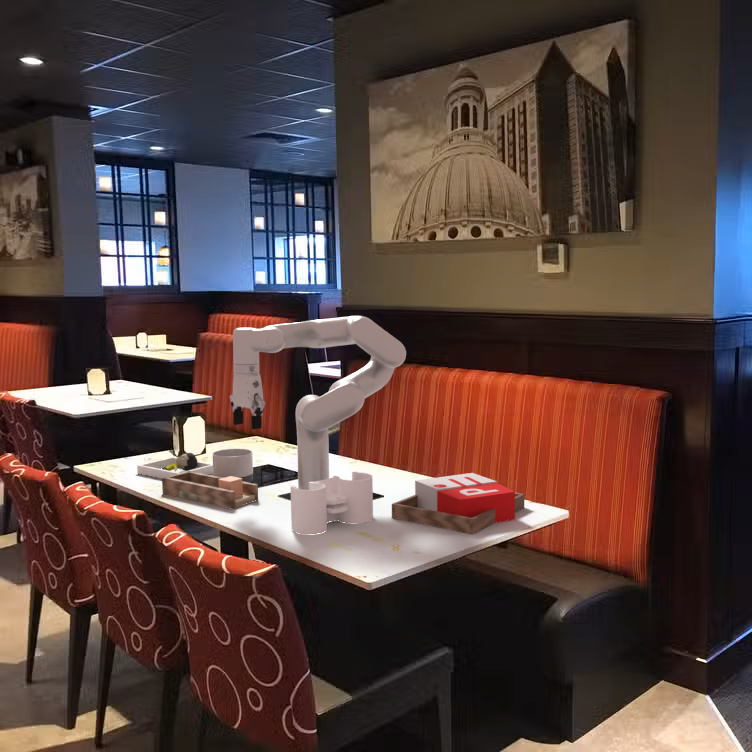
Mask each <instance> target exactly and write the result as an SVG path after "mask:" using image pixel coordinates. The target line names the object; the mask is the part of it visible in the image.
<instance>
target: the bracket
mask: <svg viewBox="0 0 752 752" xmlns="http://www.w3.org/2000/svg"><path fill="white" fill-rule="evenodd" d="M373 495H374V494H373V475H372V474H371V473H365V472H358V471H352V472H351V480H349V479H343V478H340V476H338V475H333V476H332V477H329V479H324V480H320V481H315V482H309V490H302V489H298V487H297V486H296V485H290V509H291V510H290V511H291V513H290V517H291V519H290V520H291V521H290V522H291V530H292V529H293V530H294V531H295V532H297V533H300V534H317V533H322V532H324V531H326V530H327V531H328V523H327V522H329V521H334V520H339V521H341V522H345V523H344V524H346V523H361V524H365V523H364V522H366V523H369V522H371V521H373V520H372V519H374V497H373ZM339 521H338V522H339ZM368 521H369V522H368ZM334 522H335V521H334ZM341 522H340V523H341ZM294 531H293V532H294ZM327 531H326V532H327ZM295 532H294V533H295ZM297 533H296V534H297ZM300 534H299V535H300ZM322 534H323V533H322Z"/></svg>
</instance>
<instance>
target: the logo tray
mask: <svg viewBox="0 0 752 752" xmlns="http://www.w3.org/2000/svg"><path fill="white" fill-rule="evenodd" d="M524 508H525V494H524V493H522V492H521V493H520V492H515V513H517V512H519V511H520V510H522V509H524ZM391 519H396V520H401V521H407V522H410V523H414V524H415V523H416V524H421V525H426V526H430V527H436V528H441V529H444V530H445V529H446V530H450V531H455V532H459V533H460V532H461V533H465V534H469V535H474V534H477V533H478V532H480V531H482V530H484V529H486V528H488V527H490V526H492V525H494V524H496V523H495V509H489V510H487V511H485V512H483V513H481V514H479V515H477V516H474V517H472V518H470V517H464V516H459V515H454V514H449V513H443V512H438V511H433V510H427V509H422V508H417V495H416V494H414V495H411V496H409V497H406V498H402V499H401V500H399V501H396V502H393V503H392V504H391Z"/></svg>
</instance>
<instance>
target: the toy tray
mask: <svg viewBox="0 0 752 752" xmlns="http://www.w3.org/2000/svg"><path fill="white" fill-rule="evenodd" d="M177 458H178V456H171V457H168V458H163V459H158V460H155V461H150V462H145V463H141V464H137V466H136V469H137V473H138V475H141V474H143V475H142V476H145V475H148V476H147V477H150V476H153V477H152V478H155V477H157V478H156V479H160V478H161V480H162V478H163V477H167V476H171V475H175V474H179V473H183V472H187V471H181V472H178V471H176V472H175V471H174V470H173V471H172V470H171V471H168V470H163V469H161V468H164V467H166V466H168V465H171V464H176V459H177ZM165 465H166V466H165ZM189 471H192V472H197V473H202V474H207V475H209V474H210V475H213V463H210V462H205V461H204V462H203V461H198V460H197V467H196V468H195V469H193V470H189Z"/></svg>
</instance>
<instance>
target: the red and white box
mask: <svg viewBox="0 0 752 752" xmlns="http://www.w3.org/2000/svg"><path fill="white" fill-rule="evenodd" d="M414 493H415V494H416V495H417V508H422V509H427V510H433V511H438V512H443V513H449V514H454V515H459V516H464V517H470V518H472V517H474V516H477V515H479V514H481V513H483V512H485V511H487V510H489V509H495V523H494V524H497V523H503V522H509V521H515V520H516V519H515V518H516V517H515V516H516V512H515V493H516V492H515V490H512V489H510V488H508V487H506V486H504V485H501V484H499V483H498V481H497V480H493V479H491V478H488V477H485V476H482V475H480V474H477V473H474V472H470V473H468V472H467V473H462V474H454V475H447V476H438V477H433V478H432V477H431V478H424V479H417V480H414ZM415 494H414V495H415Z"/></svg>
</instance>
